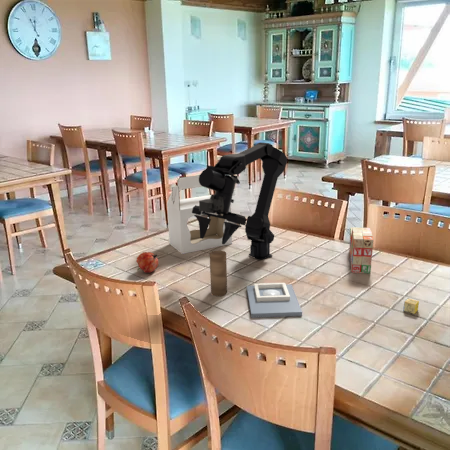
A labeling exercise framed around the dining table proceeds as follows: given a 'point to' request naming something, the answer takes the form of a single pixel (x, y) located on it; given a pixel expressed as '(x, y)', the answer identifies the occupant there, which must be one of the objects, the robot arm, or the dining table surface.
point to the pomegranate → (147, 262)
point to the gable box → (182, 212)
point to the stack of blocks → (361, 249)
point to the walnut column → (218, 273)
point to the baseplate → (273, 300)
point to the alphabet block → (411, 306)
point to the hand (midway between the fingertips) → (212, 241)
